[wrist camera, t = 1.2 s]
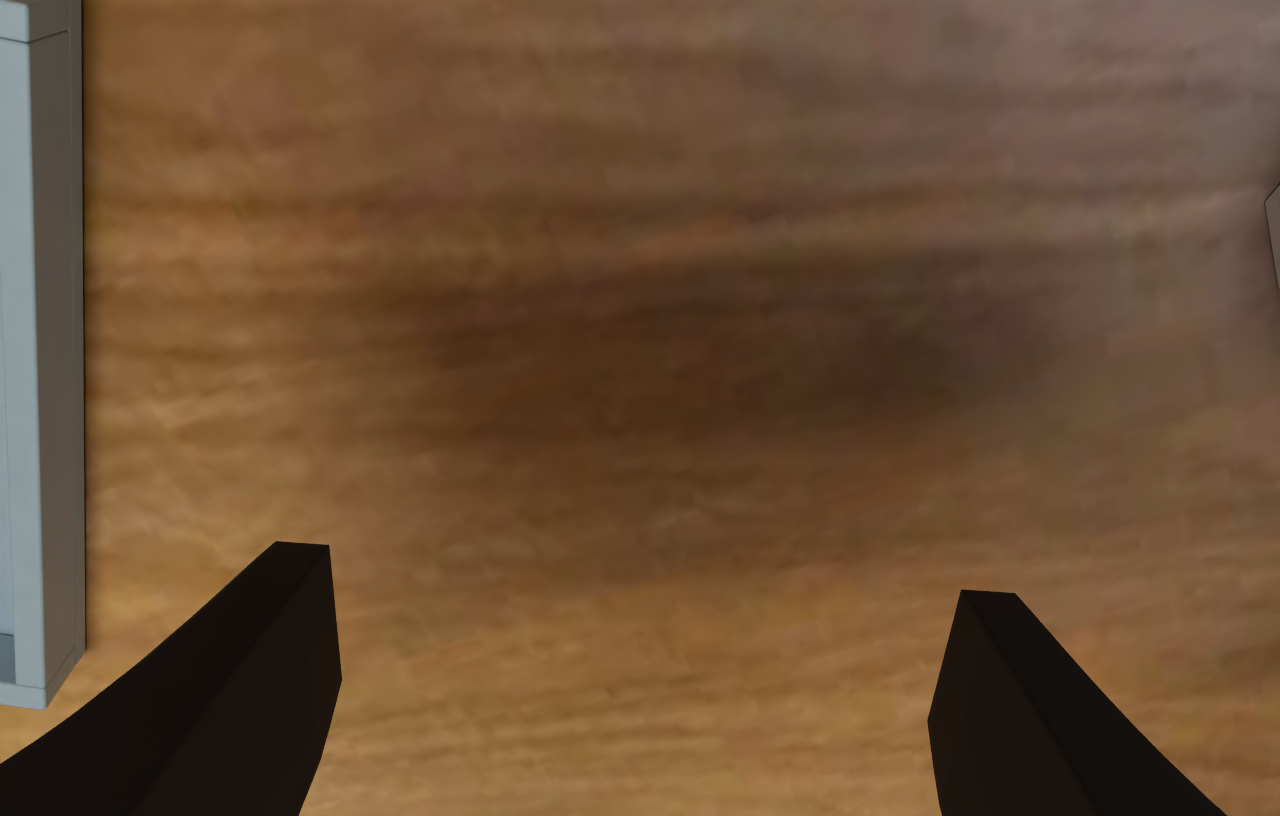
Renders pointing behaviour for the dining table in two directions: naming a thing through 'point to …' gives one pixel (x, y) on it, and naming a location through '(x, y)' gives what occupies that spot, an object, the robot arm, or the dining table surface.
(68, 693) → the dining table surface
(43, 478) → the tray
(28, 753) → the robot arm
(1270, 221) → the faceted bottle
